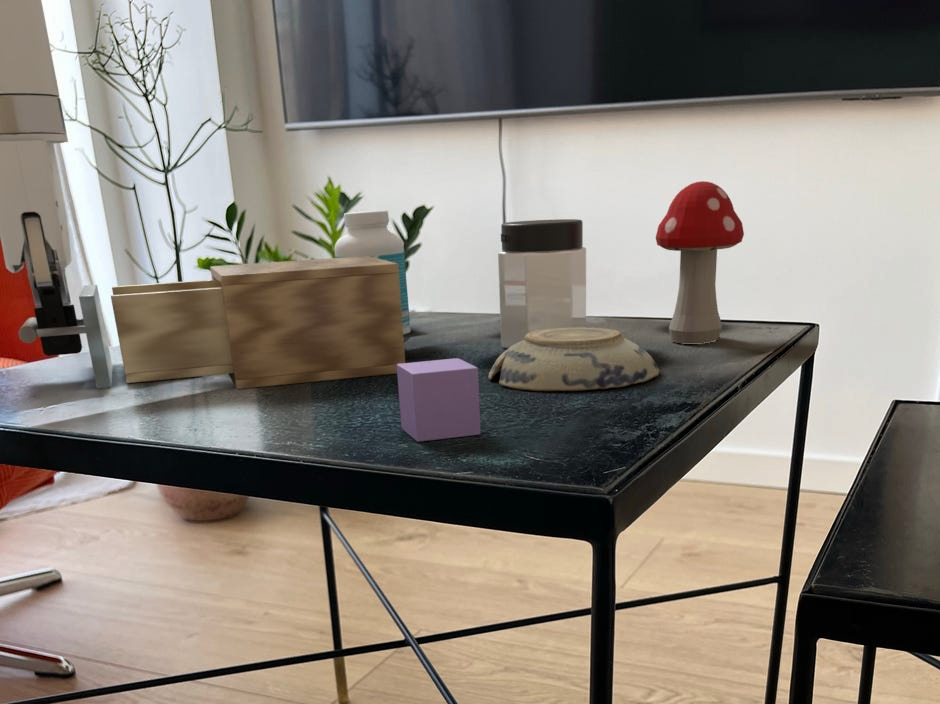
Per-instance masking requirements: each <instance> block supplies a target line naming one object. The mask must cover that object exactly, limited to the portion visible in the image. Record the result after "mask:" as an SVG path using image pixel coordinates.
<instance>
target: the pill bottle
mask: <svg viewBox="0 0 940 704" xmlns="http://www.w3.org/2000/svg"><path fill="white" fill-rule="evenodd" d="M343 223H344V225H345V228H346V229H347V232H346V234H345V235H343V236H341V237H339V238H338V239H337V241H336V242H335V244H334V258H344V257H359V256H370V257H374V258H378V259H382V260H386V261H390V262H394V263H397V264H398V268H399V282H400V296H401V310H402V324H403V335H406V334H409V333H410V332H411V319H410V318H411V317H410V307H409V295H408V283H407V272H406V271H407V270H406V258H405V257H406V256H405V248H404V247H405V245H404V242H403V240H402V239H401V237H400V236H399V235H398V234H396V233H394V232H391V231H390V230H389V229H388V225H389V223H390V216H389V211H388V210H386V209H384V210H365V211H353V212H345V213H343ZM403 338H404V343H406V342H408V341H409V339H410V338H411V336H406V337H403Z"/></svg>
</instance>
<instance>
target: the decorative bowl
mask: <svg viewBox="0 0 940 704" xmlns="http://www.w3.org/2000/svg"><path fill="white" fill-rule="evenodd" d="M499 370H501V371H500V375H499V376H500V378H499V381H498V385H500V386H504V387H506V388H508V389H509V388H510V389H515V390H520V391H521V390H522V391H532V392H560V391H561V392H566V391H568V392H578V391H580V392H582V391H590V390H593V391H595V390H598V389H600V390H607V389H610V388H611V389H613V388H623V387H627V386H631V385H637V384H641V383H645V382H648V381H651V380H652V379H653V378H656V377H658V376H659V374H660V370H659V366H658V365H657V362H655V360H654V358H653V357H652V356H651V354H649V353H648V352H647V351H646V350H645V349H644V348H643V347H642V346H640V345H638V344H637V343H635V342H634V341H632V340H630V339H628V338H625V337H622V333H621V332H620V331H619V330H615V329H611V328H603V327H587V326H586V327H574V328H555V329H545V330H539V331H533V332H530V333H528V334H526V335H525V337H524V340H522V341H520V342H518V343H516V344H515V345H513V346H511V347H510V348H508V349H506V350H505V351H503V352H502V353H500V355H499V356H498V357H497V359H496V360H495V361H494V364H493V365H492V367H491V369H490V370H489V373H488V376H487V377H488V380H489V381H492V379H493V378H494V377H495V375H496V374H497V372H498V371H499Z"/></svg>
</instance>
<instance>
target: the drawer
mask: <svg viewBox="0 0 940 704" xmlns="http://www.w3.org/2000/svg"><path fill="white" fill-rule="evenodd" d="M111 291H112V294H111V295H110V298H111V305H112V311H113V316H114V322H115V327H116V332H117V338H118V343H119V349H120V355H121V360H122V365H123V370H124V374H125V381H126V383H127V384H133V383H145V382H155V381H165V380H176V379H187V378H198V377H207V376H219V375H229V374H231V373H234V370H233V362H232V355H231V348H230V341H229V334H228V327H227V320H226V313H225V306H224V299H223V292H222V284H221V283H220V282H218V281H217V280H216V279H213V280H212V279H201V280H198V279H197V280H186V281H185V280H183V281H173V282H172V281H171V282H158V283H155V282H154V283H143V284H128V285H115V286H112V287H111ZM78 299H79V304H80V309H81V315H82V318H77V323H78V326H72V327H59V328H47V329H38V325H37V320H36V317H35V316H34V317H33V316H32V317H28V318H27V319H26V320H25V322H24V323H23V324H22V326H21V327H20V328H19V330H18V338H19V339H20V340H21V341H22V342H23V343H26V344H31V343H33V342H35V341H36V339H37V338H40V337H46V336H58V335H71V334H80V335H81V334H82V335H83V334H85V335H86V341H87V345H88V351H89V355H90V360H91V366H92V370H93V375H94V380H95V381H94V382H95V386H96V389H104V388H112V383H113V362H112V356H111V351H110V346H109V340H108V335H107V330H106V324H105V320H104V319H105V318H104V314H103V310H102V309H103V308H102V303H101V299H100V294H99V289H98V285H97V284H87V285H83V287H82V289H81V291H80V293H79V296H78Z"/></svg>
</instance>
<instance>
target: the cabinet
mask: <svg viewBox="0 0 940 704" xmlns="http://www.w3.org/2000/svg"><path fill="white" fill-rule="evenodd" d="M209 269H210V274H211V275H210V276H211V280H213V279H216V280H217V281H218V282H220V283H221V284H222V292H223V299H224V306H225V313H226V320H227V327H228V334H229V341H230V348H231V355H232V362H233V370H234V373H231V374H228V376H229V378H230V379H231V382H232V383H233V385H234V386H235V388H236V390H241V389H242V390H243V389H253V388H263V387H274V386H282V385H283V386H285V385H294V384H303V383H314V382H325V381H326V382H327V381H337V380H345V379H356V378H364V377H366V378H367V377H376V376H377V377H378V376H387V375H394V374H395V375H396V374H397V364H402V363H406V353H405V342H404V338H405V337H404V334H403V324H402V310H401V296H400V282H399V268H398V264H397V263H394V262H390V261H386V260H382V259H378V258H374V257H370V256H359V257H344V258H335V257H331V258H330V257H329V258H317V259H316V258H315V259H301V260H285V261H271V262H269V261H268V262H255V263H241V264H225V265H210V266H209Z"/></svg>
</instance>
